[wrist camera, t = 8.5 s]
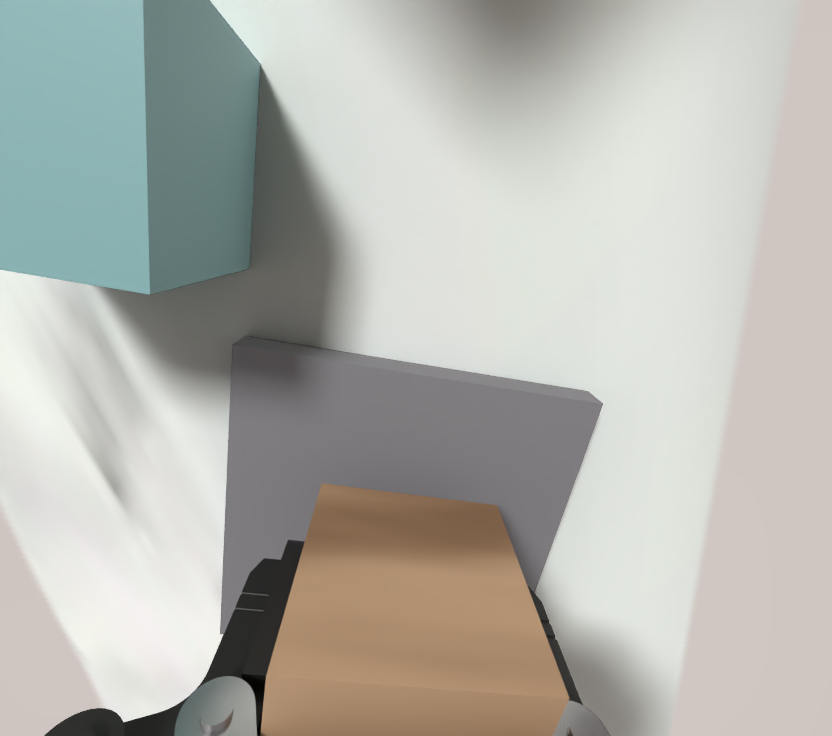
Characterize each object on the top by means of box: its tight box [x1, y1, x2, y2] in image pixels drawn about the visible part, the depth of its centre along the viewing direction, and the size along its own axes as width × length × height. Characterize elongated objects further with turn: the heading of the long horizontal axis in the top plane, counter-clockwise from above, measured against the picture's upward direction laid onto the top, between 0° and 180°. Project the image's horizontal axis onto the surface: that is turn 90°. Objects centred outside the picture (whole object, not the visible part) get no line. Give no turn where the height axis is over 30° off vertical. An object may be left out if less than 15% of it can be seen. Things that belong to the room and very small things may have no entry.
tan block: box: [260, 483, 570, 736], centre depth 10 cm, size 5×5×5 cm
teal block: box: [0, 0, 260, 295], centre depth 8 cm, size 5×5×5 cm
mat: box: [220, 336, 603, 634], centre depth 14 cm, size 11×11×1 cm
